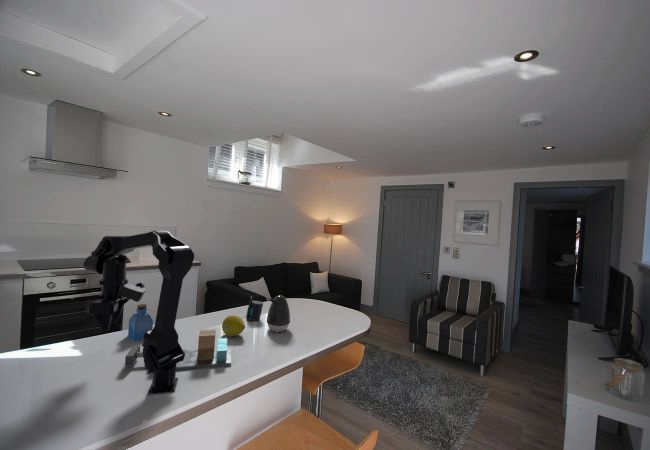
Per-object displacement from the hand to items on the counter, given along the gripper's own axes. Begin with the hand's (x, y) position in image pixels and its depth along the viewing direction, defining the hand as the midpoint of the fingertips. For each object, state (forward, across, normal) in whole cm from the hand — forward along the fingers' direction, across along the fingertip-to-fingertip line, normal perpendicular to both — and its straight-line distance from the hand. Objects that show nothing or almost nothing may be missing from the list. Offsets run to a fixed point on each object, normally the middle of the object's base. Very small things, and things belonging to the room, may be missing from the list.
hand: (110, 327), depth 91 cm
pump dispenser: (+12, +23, -56) cm, 62 cm away
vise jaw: (+11, 0, -11) cm, 15 cm away
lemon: (+12, +19, -37) cm, 43 cm away
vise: (+12, 0, -24) cm, 27 cm away
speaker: (+12, +38, -47) cm, 62 cm away
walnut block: (+11, 0, -28) cm, 30 cm away
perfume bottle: (+12, +23, -3) cm, 26 cm away
